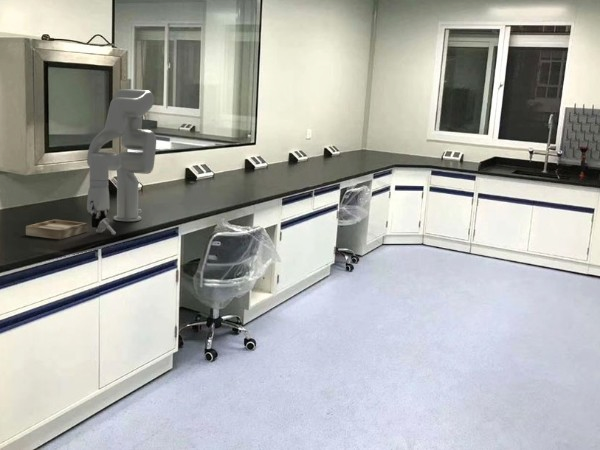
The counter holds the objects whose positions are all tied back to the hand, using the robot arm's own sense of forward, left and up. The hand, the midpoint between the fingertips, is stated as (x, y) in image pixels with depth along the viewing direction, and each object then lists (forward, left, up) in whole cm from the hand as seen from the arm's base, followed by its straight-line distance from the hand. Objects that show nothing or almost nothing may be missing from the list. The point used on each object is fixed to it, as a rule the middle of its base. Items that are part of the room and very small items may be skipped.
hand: (99, 226), depth 254 cm
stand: (+1, +3, -5) cm, 6 cm away
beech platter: (+10, -13, -3) cm, 17 cm away
